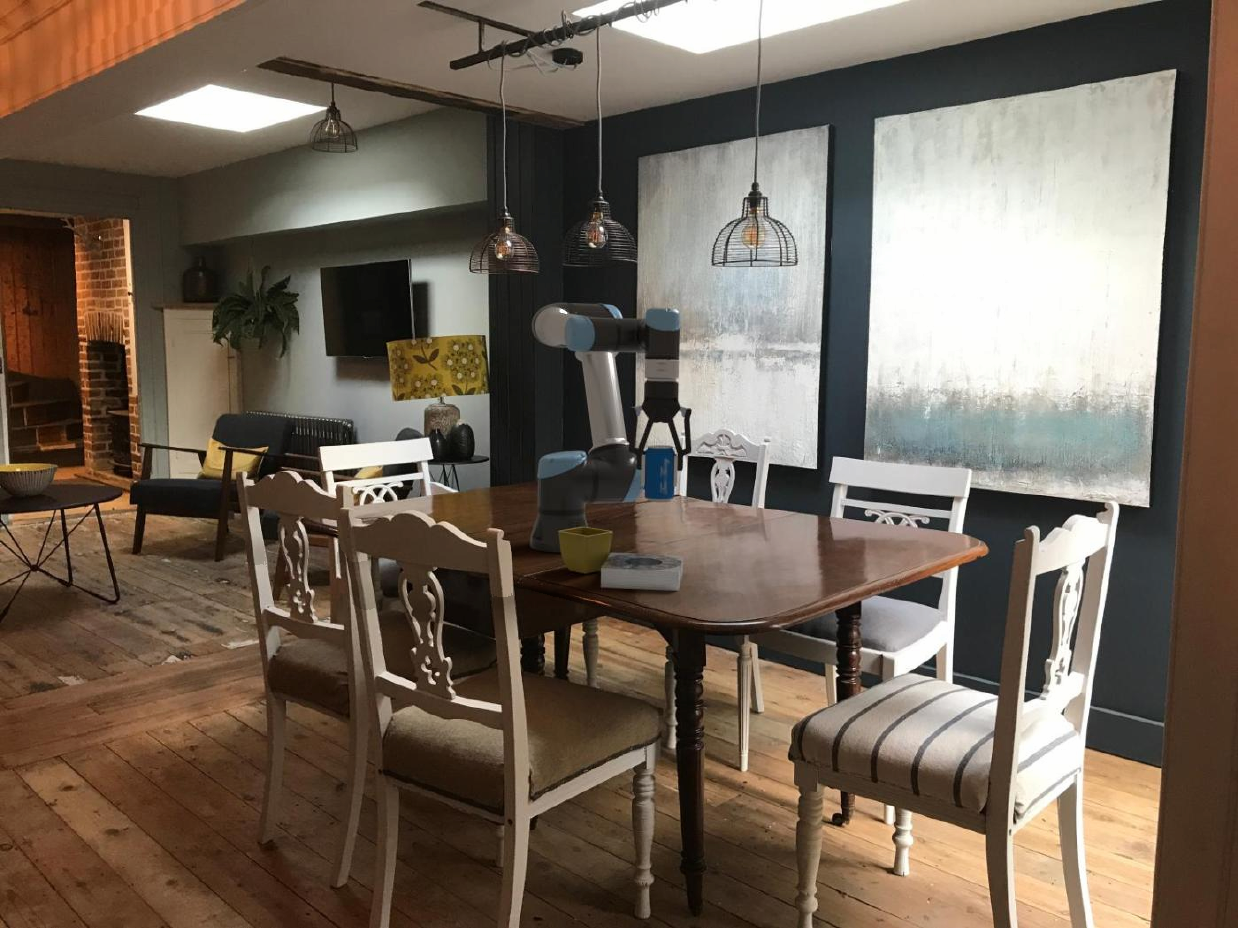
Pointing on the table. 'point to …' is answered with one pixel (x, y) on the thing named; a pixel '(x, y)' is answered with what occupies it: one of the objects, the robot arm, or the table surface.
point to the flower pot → (585, 548)
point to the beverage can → (659, 473)
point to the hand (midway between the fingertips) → (659, 485)
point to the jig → (642, 571)
